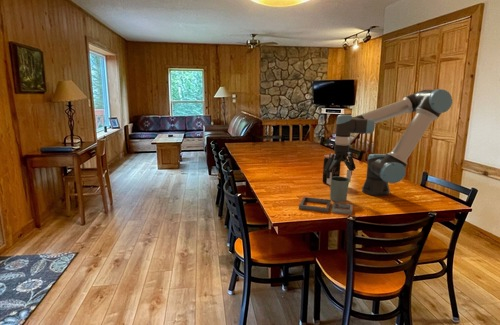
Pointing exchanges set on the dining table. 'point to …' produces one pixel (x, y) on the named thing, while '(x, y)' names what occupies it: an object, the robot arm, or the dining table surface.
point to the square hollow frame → (314, 208)
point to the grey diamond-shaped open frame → (342, 211)
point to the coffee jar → (334, 172)
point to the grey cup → (339, 188)
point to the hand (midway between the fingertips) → (338, 182)
